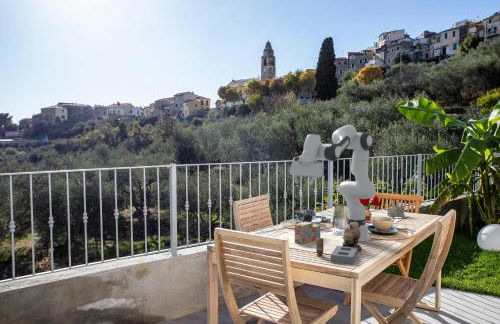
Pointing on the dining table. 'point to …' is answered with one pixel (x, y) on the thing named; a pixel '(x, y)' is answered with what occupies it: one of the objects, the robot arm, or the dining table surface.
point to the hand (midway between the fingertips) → (303, 183)
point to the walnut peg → (319, 246)
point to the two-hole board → (344, 255)
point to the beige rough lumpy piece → (352, 236)
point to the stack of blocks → (306, 232)
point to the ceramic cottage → (396, 210)
